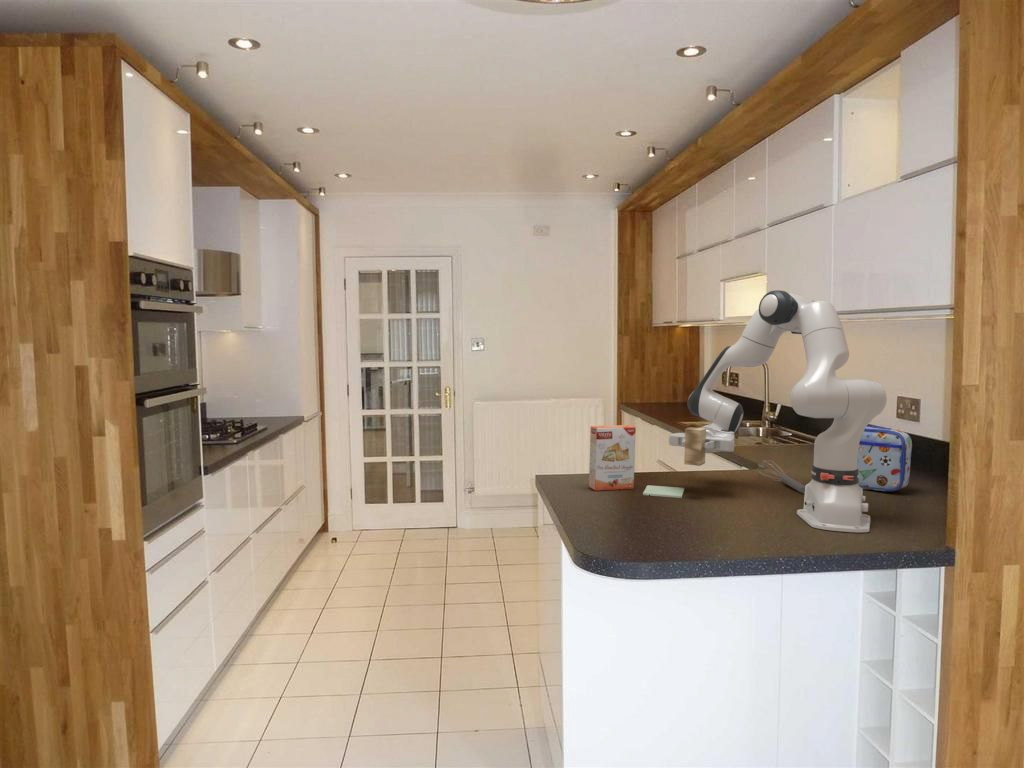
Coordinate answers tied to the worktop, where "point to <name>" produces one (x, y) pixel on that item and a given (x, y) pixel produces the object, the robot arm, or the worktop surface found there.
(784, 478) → the kitchen whisk
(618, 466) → the cracker box
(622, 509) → the worktop surface
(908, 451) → the lunch box
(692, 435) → the oak pillar
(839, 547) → the worktop surface
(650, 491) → the mat
